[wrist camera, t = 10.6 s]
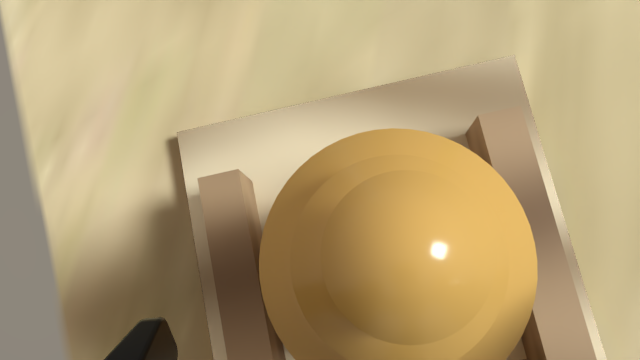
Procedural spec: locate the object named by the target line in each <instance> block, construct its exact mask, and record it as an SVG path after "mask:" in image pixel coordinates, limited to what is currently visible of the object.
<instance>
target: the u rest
mask: <svg viewBox="0 0 640 360" xmlns="http://www.w3.org/2000/svg"><path fill="white" fill-rule="evenodd" d="M389 128H397V129H412V130H418V131H424V132H429V133H432V134H435V135H439V136H442V137H445V138H447V139H449V140H452V141H454V142H456V143H458V144H460V145H462V146H464V147H466V148H467V149H469V150H471V151H472V152H474V153H475V154H477V155H478V156H479V157H481V158H482V159H483V160H484V161H486V162H487V163H488V164H489V165H490V166H491V167H492V168H493V169H494V170H495V171H496V172H497V173H498V174H499V175H500V176H501V177H502V178H503V179H504V180H505V182H506V183H507V184H508V186H509V187H510V188H511V189H512V191H513V192H514V194H515V196H516V197H517V199H518V201H519V202H520V204H521V206H522V208H523V210H524V212H525V215H526V217H527V219H528V222H529V224H530V227H531V231H532V234H533V238H534V242H535V248H536V255H537V277H538V280H537V288H536V296H535V301H534V305H533V308H532V312H531V316H530V319H529V321H528V323H527V326H526V328H525V330H524V333H523V335H522V336H521V338H520V340H519V341H518V343H517V345H516V346H515V348H514V350H513V351H512V352H511V354H510V355H509V356H508V357H507V359H506V360H607V359H606V356H605V352H604V349H603V346H602V342H601V339H600V336H599V332H598V329H597V326H596V323H595V319H594V316H593V313H592V309H591V306H590V303H589V299H588V296H587V293H586V289H585V286H584V283H583V280H582V276H581V273H580V270H579V266H578V263H577V260H576V256H575V253H574V250H573V246H572V243H571V240H570V237H569V233H568V230H567V227H566V223H565V220H564V217H563V213H562V210H561V207H560V203H559V200H558V197H557V194H556V190H555V187H554V184H553V180H552V177H551V174H550V170H549V167H548V164H547V160H546V157H545V154H544V151H543V147H542V144H541V141H540V137H539V134H538V131H537V127H536V124H535V121H534V117H533V114H532V111H531V108H530V104H529V101H528V98H527V94H526V91H525V88H524V84H523V81H522V78H521V74H520V71H519V68H518V65H517V61H516V58H515V55H512V56H508V57H503V58H499V59H495V60H490V61H486V62H482V63H477V64H473V65H468V66H464V67H460V68H455V69H451V70H447V71H442V72H438V73H434V74H429V75H425V76H420V77H416V78H412V79H407V80H403V81H399V82H394V83H390V84H385V85H381V86H377V87H372V88H368V89H364V90H359V91H355V92H351V93H346V94H342V95H337V96H333V97H329V98H324V99H320V100H316V101H311V102H307V103H303V104H298V105H294V106H289V107H285V108H281V109H276V110H272V111H268V112H263V113H259V114H255V115H250V116H246V117H241V118H237V119H233V120H228V121H224V122H220V123H215V124H211V125H206V126H202V127H198V128H193V129H189V130H185V131H180V132H177V137H178V143H179V149H180V155H181V161H182V168H183V174H184V180H185V186H186V192H187V199H188V205H189V211H190V217H191V223H192V230H193V236H194V242H195V248H196V254H197V261H198V267H199V273H200V279H201V286H202V292H203V298H204V304H205V310H206V317H207V323H208V329H209V335H210V341H211V348H212V354H213V360H295V359H294V358H293V356H292V355H291V354H290V353H289V351H288V350H287V349H286V348H285V346H284V345H283V343H282V341H281V340H280V338H279V337H278V335H277V333H276V332H275V329H274V327H273V325H272V323H271V321H270V318H269V316H268V313H267V310H266V307H265V304H264V300H263V297H262V291H261V285H260V277H259V254H260V244H261V239H262V234H263V230H264V226H265V223H266V220H267V217H268V214H269V212H270V209H271V207H272V205H273V203H274V201H275V199H276V197H277V195H278V194H279V192H280V191H281V189H282V188H283V186H284V185H285V184H286V182H287V181H288V179H289V178H290V177H291V176H292V175H293V174H294V173H295V172H296V170H297V169H298V168H299V167H300V166H301V165H303V164H304V163H305V162H306V161H307V160H308V159H309V158H311V157H312V156H313V155H315V154H316V153H318V152H319V151H321V150H322V149H324V148H325V147H327V146H329V145H331V144H333V143H335V142H337V141H339V140H341V139H343V138H346V137H349V136H352V135H355V134H357V133H362V132H366V131H371V130H378V129H389Z"/></svg>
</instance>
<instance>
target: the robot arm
mask: <svg viewBox="0 0 640 360" xmlns="http://www.w3.org/2000/svg"><path fill="white" fill-rule="evenodd" d="M177 357H178V352H177V346H176V343H175V341H174V338H173V336H172V333H171V331H170V328H169V326H168V324H167V322H166V320H165V319H164V318H161V317H158V318H146V319H142V320H141V321H139V322H138V323H137V324H136V325H135V327H134V328H133V329H132V330H131V331H130V332H129V333H128V334H127V335H126V336H125V337H124V338H123V340H122V341H121V342H120V343H119V344H118V345H117V346H116V347H115V348H114V349H113V350H112V351H111V353H110V354H109V355H108V356H107V357H106V358H105V359H104V360H177Z"/></svg>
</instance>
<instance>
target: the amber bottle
mask: <svg viewBox="0 0 640 360" xmlns="http://www.w3.org/2000/svg"><path fill="white" fill-rule="evenodd" d="M259 277H260V285H261V291H262V297H263V300H264V304H265V307H266V310H267V313H268V316H269V318H270V321H271V323H272V325H273V327H274V329H275V332H276V333H277V335H278V337H279V338H280V340H281V341H282V343H283V345H284V346H285V348H286V349H287V350H288V351H289V353H290V354H291V355H292V356H293V358H294V359H295V360H506V359H507V357H508V356H509V355H510V354H511V352H512V351H513V350H514V348H515V346H516V345H517V343H518V341H519V340H520V338H521V336H522V335H523V333H524V330H525V328H526V326H527V323H528V321H529V319H530V316H531V312H532V308H533V305H534V301H535V296H536V288H537V280H538V277H537V255H536V248H535V242H534V238H533V234H532V231H531V227H530V224H529V222H528V219H527V217H526V215H525V212H524V210H523V208H522V206H521V204H520V202H519V201H518V199H517V197H516V196H515V194H514V192H513V191H512V189H511V188H510V187H509V186H508V184H507V183H506V182H505V180H504V179H503V178H502V177H501V176H500V175H499V174H498V173H497V172H496V171H495V170H494V169H493V168H492V167H491V166H490V165H489V164H488V163H487V162H486V161H484V160H483V159H482V158H481V157H479V156H478V155H477V154H475V153H474V152H472V151H471V150H469V149H467V148H466V147H464V146H462V145H460V144H458V143H456V142H454V141H452V140H449V139H447V138H445V137H442V136H439V135H435V134H432V133H429V132H424V131H418V130H412V129H397V128H389V129H378V130H371V131H366V132H362V133H357V134H355V135H352V136H349V137H346V138H343V139H341V140H339V141H337V142H335V143H333V144H331V145H329V146H327V147H325V148H324V149H322V150H321V151H319V152H318V153H316V154H315V155H313V156H312V157H311V158H309V159H308V160H307V161H306V162H305V163H304V164H303V165H301V166H300V167H299V168H298V169H297V170H296V172H295V173H294V174H293V175H292V176H291V177H290V178H289V179H288V181H287V182H286V184H285V185H284V186H283V188H282V189H281V191H280V192H279V194H278V195H277V197H276V199H275V201H274V203H273V205H272V207H271V209H270V212H269V214H268V217H267V220H266V223H265V226H264V230H263V234H262V239H261V244H260V254H259Z"/></svg>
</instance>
